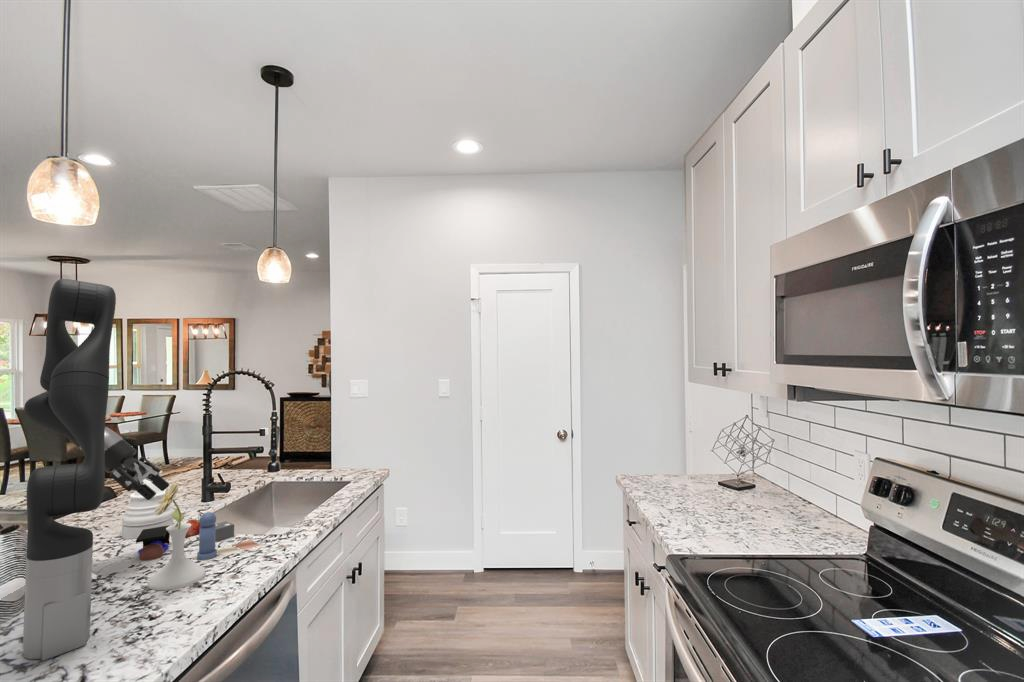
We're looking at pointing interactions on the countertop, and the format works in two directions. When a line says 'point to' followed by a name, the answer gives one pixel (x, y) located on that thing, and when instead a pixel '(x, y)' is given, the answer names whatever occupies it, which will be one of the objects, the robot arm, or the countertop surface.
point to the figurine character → (153, 542)
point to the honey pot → (145, 513)
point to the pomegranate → (193, 528)
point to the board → (232, 549)
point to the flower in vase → (175, 551)
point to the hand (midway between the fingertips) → (159, 492)
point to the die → (224, 531)
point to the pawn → (207, 537)
